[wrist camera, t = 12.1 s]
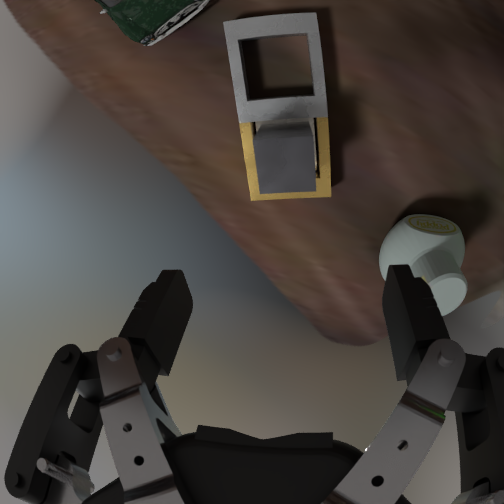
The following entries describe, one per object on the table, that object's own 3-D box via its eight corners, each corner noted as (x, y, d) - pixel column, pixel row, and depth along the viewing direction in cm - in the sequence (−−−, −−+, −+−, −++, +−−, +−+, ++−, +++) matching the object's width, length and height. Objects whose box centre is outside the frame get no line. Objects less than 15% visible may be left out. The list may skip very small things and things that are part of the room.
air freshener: (368, 266, 35) (384, 328, 27) (381, 207, 30) (408, 262, 22) (441, 268, 33) (467, 324, 25) (459, 215, 29) (498, 266, 21)
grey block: (308, 121, 26) (313, 136, 20) (312, 165, 28) (316, 191, 23) (261, 124, 27) (252, 140, 21) (266, 168, 29) (259, 194, 24)
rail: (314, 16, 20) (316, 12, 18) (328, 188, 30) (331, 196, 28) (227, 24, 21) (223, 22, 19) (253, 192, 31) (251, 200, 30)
